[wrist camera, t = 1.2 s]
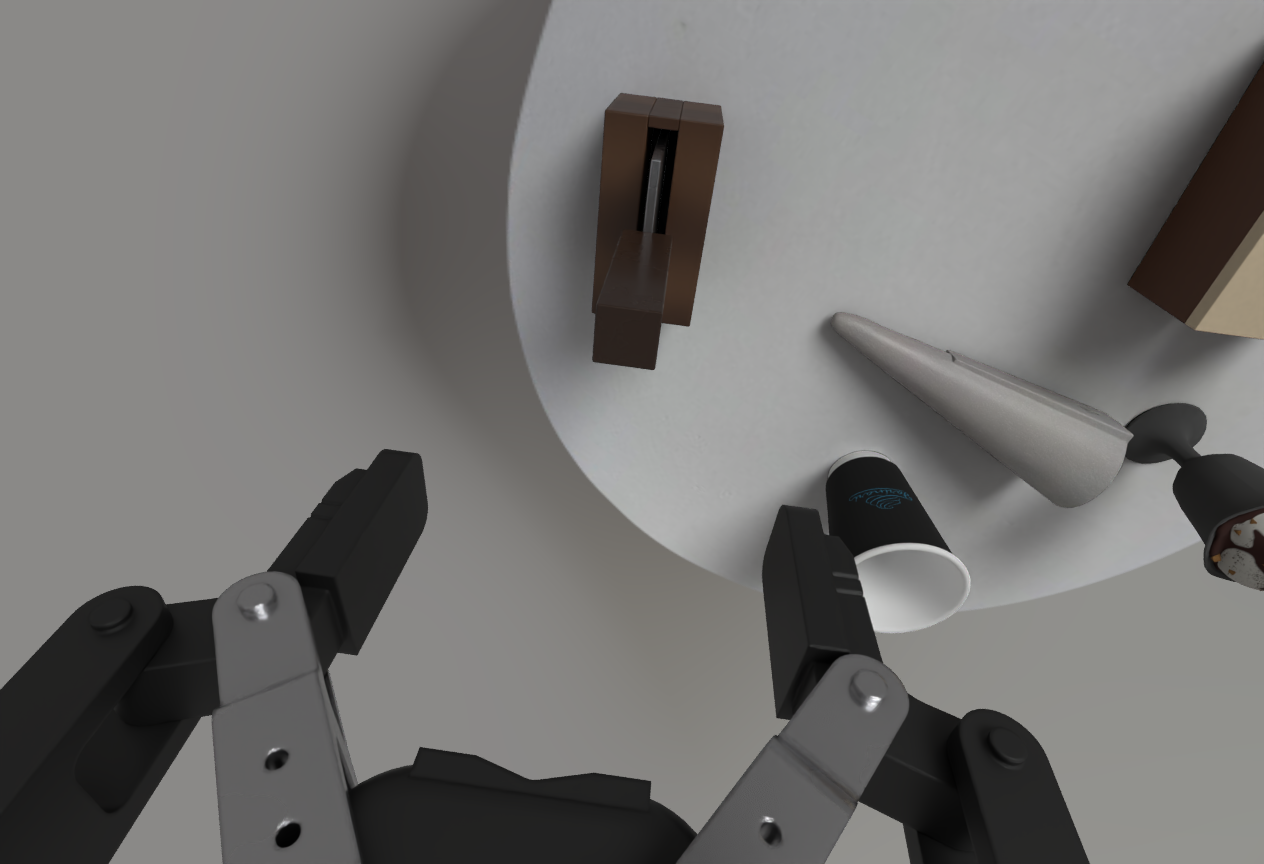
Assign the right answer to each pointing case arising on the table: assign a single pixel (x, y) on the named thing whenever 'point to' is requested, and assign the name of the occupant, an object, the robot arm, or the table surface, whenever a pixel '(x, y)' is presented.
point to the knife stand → (629, 179)
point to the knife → (636, 283)
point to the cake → (1216, 234)
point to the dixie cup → (893, 545)
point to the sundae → (1208, 490)
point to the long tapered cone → (1002, 413)
